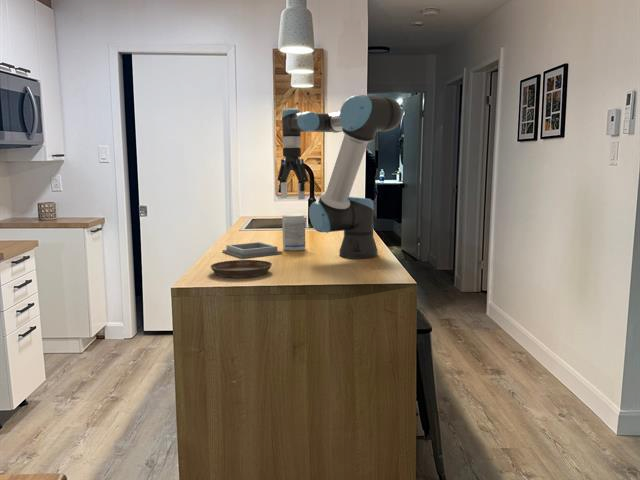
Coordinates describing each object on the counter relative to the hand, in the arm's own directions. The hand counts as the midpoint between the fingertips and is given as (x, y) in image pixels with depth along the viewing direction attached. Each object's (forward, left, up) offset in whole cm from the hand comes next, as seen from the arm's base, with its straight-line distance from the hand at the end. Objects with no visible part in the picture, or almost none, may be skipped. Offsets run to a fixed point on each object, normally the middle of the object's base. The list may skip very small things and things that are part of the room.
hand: (292, 198), depth 236 cm
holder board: (+2, +19, -22) cm, 29 cm away
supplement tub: (0, 0, -22) cm, 22 cm away
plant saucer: (-32, +40, -22) cm, 55 cm away
